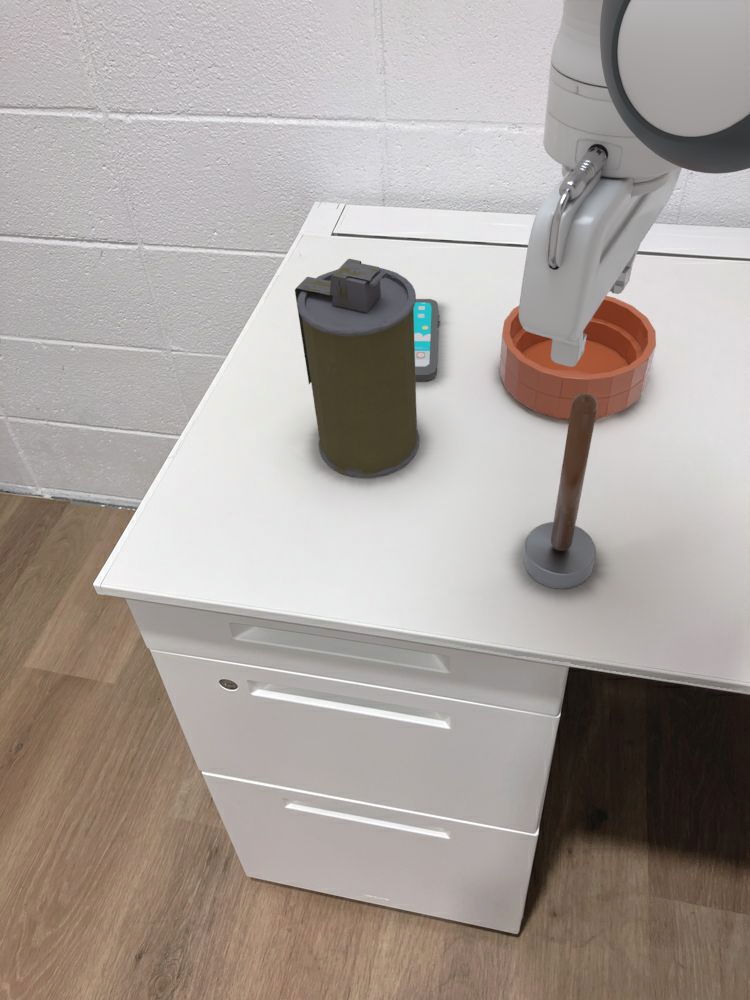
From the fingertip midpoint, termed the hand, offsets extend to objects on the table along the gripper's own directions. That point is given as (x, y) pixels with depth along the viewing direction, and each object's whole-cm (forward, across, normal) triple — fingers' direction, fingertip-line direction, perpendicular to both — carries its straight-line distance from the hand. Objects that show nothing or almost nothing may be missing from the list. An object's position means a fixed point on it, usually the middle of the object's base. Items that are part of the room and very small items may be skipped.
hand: (591, 321), depth 55 cm
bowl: (+23, +23, +7) cm, 33 cm away
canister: (+24, +4, +22) cm, 32 cm away
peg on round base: (+23, -2, -1) cm, 23 cm away
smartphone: (+23, +21, +27) cm, 41 cm away
